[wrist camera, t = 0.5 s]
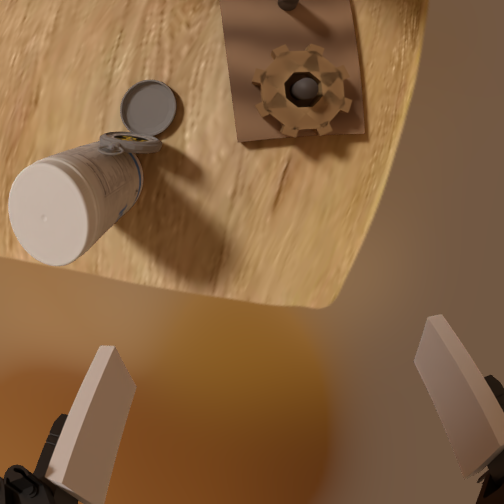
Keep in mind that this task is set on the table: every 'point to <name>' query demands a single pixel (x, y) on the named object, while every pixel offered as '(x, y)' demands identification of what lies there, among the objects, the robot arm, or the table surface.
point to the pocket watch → (142, 119)
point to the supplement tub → (72, 201)
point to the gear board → (296, 34)
